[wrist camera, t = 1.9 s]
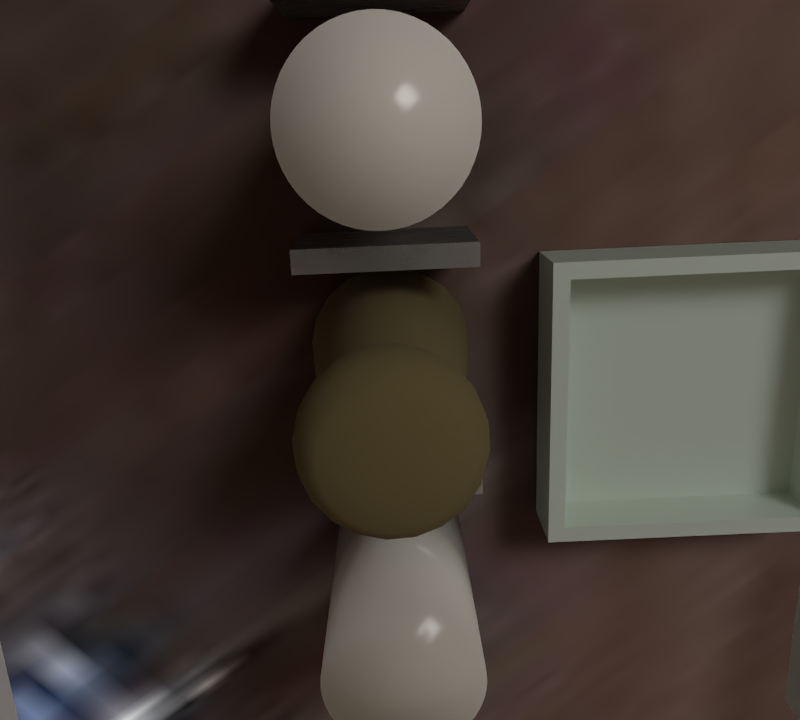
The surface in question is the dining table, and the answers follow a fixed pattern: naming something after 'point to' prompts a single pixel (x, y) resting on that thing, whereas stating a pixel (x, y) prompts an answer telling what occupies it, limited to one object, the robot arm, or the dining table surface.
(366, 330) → the cork
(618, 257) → the tray
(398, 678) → the cream rounded capsule
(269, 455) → the dining table surface
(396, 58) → the cream jar
